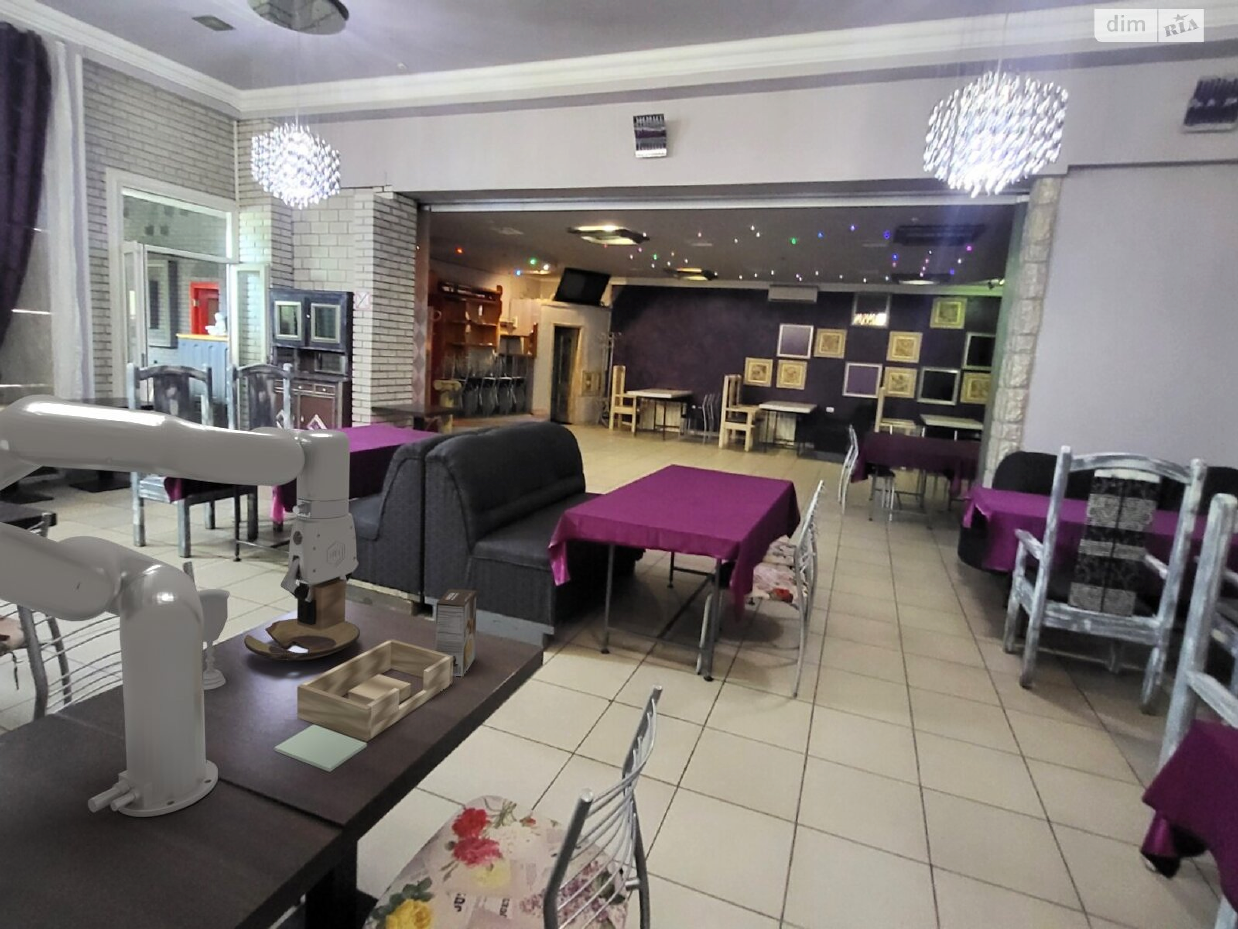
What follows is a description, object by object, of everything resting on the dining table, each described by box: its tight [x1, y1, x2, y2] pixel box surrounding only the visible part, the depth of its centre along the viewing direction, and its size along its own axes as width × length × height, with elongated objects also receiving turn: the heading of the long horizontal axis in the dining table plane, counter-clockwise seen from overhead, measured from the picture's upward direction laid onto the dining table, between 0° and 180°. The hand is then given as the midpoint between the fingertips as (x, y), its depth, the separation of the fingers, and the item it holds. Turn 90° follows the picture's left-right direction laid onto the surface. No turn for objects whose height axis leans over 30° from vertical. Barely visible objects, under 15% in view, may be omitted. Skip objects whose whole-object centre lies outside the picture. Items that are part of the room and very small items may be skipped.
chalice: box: [197, 588, 231, 691], centre depth 126 cm, size 7×7×18 cm
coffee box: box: [434, 588, 478, 678], centre depth 140 cm, size 9×6×16 cm
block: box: [296, 578, 347, 631], centre depth 106 cm, size 5×5×7 cm
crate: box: [296, 638, 454, 743], centre depth 126 cm, size 24×16×6 cm, turn 158°
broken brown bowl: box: [243, 617, 361, 662], centre depth 145 cm, size 22×30×8 cm
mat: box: [273, 724, 368, 772], centre depth 109 cm, size 8×12×1 cm, turn 68°
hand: (321, 616), depth 106 cm, fingers closed on block, 5 cm apart
